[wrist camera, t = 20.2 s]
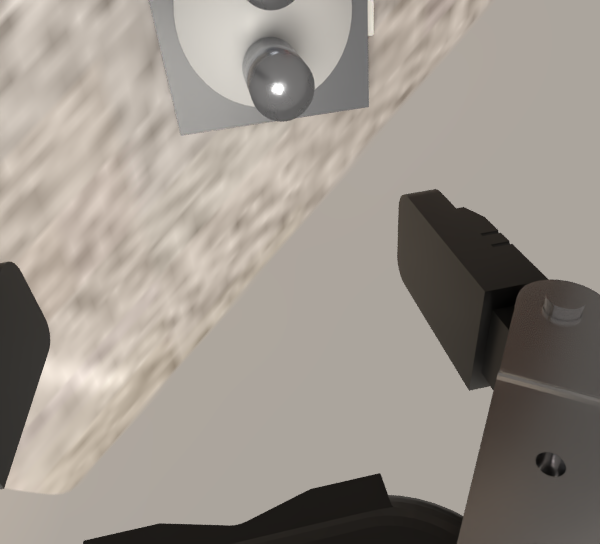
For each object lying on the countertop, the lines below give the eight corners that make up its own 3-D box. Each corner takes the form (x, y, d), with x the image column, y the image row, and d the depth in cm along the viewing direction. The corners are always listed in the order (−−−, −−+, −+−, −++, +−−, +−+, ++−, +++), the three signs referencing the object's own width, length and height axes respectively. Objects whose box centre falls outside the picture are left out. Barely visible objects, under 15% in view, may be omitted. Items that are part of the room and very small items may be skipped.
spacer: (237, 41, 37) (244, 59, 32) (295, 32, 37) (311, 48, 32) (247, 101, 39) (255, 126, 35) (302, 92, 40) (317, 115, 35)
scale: (128, -106, 35) (121, -109, 31) (359, -130, 36) (381, -136, 32) (181, 120, 44) (180, 139, 40) (363, 93, 46) (380, 109, 42)
